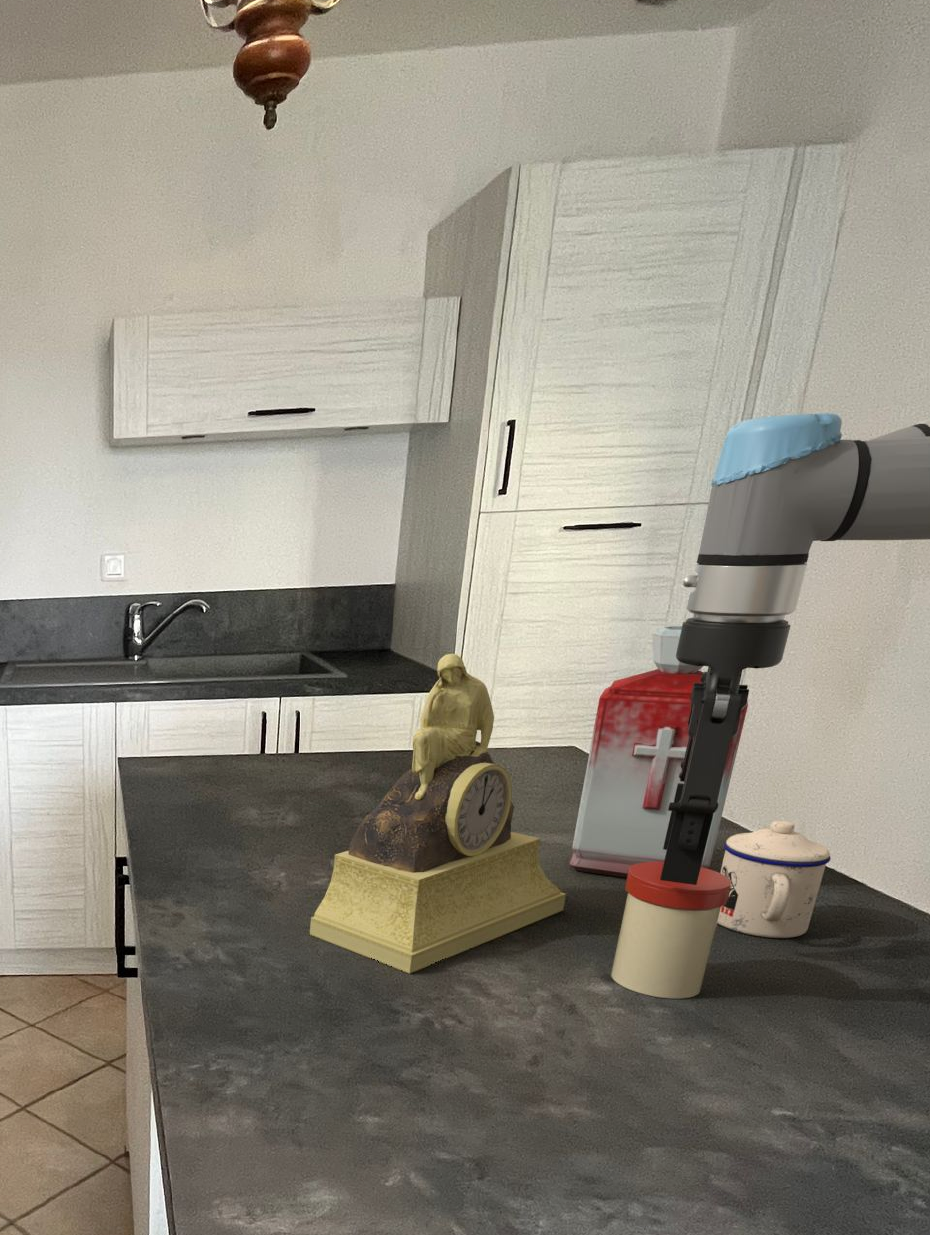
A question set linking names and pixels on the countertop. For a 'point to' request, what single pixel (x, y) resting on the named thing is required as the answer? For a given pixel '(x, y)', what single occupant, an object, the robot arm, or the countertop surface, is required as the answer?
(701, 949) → the jar
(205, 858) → the countertop surface
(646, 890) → the lid
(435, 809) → the decorative clock
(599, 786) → the bottle
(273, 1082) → the countertop surface
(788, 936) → the teacup with lid
